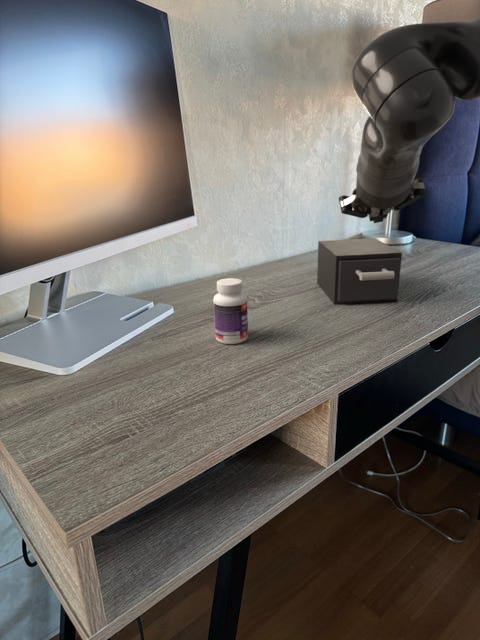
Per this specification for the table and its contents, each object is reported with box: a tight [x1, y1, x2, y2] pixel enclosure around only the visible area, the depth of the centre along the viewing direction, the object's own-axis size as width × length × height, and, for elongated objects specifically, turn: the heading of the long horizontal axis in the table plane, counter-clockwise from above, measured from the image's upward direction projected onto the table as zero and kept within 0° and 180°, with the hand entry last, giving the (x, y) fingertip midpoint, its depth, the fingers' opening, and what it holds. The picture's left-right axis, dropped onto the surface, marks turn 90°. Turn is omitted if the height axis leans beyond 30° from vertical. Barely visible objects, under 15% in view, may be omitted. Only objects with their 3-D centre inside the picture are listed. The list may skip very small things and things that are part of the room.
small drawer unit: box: [316, 237, 403, 305], centre depth 92 cm, size 15×13×10 cm
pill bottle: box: [212, 277, 249, 345], centre depth 71 cm, size 5×5×10 cm
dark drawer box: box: [337, 257, 402, 302], centre depth 88 cm, size 18×11×8 cm, turn 4°
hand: (377, 217), depth 75 cm, fingers closed
